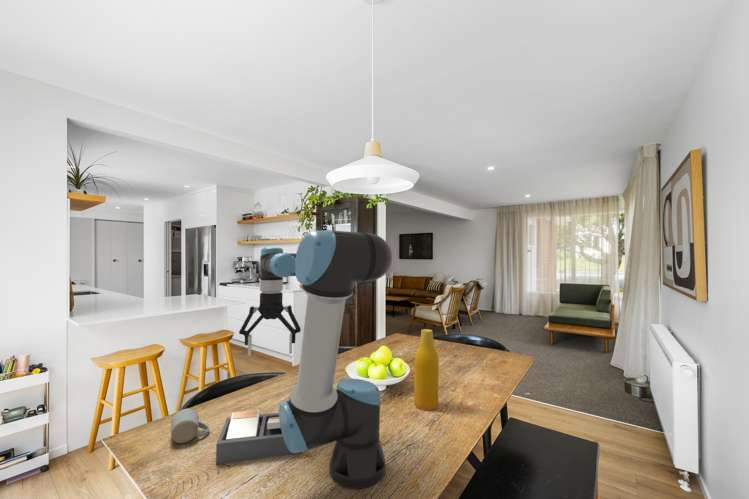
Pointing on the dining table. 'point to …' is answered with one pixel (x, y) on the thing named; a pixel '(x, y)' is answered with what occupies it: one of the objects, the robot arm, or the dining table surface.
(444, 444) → the dining table surface
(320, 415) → the robot arm
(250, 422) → the breaker rocker
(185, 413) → the ceramic mug
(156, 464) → the dining table surface
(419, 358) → the beer bottle
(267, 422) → the grey divided tray
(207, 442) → the dining table surface
